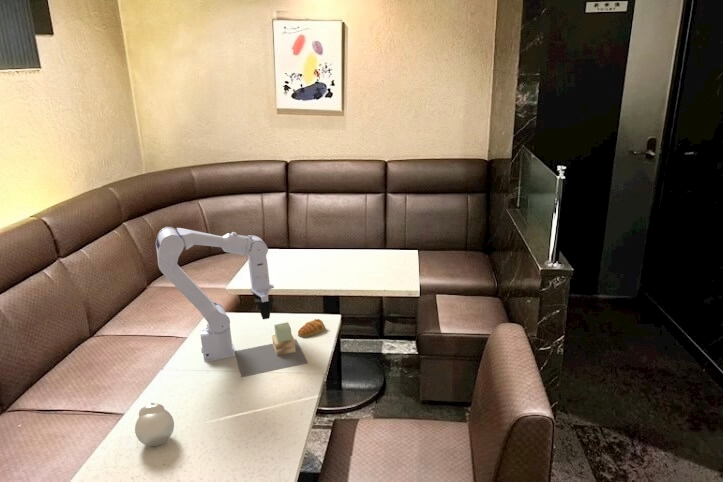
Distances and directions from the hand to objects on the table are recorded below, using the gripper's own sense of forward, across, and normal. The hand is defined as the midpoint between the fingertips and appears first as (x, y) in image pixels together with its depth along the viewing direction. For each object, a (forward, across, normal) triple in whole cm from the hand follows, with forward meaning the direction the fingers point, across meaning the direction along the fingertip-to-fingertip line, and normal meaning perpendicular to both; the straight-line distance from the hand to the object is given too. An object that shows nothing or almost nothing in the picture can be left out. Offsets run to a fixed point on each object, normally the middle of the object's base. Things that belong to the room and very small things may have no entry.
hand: (264, 313), depth 173 cm
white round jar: (+10, -39, +34) cm, 52 cm away
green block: (+6, -8, -4) cm, 11 cm away
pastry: (+11, +1, -15) cm, 19 cm away
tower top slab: (+8, -8, -4) cm, 12 cm away
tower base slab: (+10, -8, -4) cm, 13 cm away
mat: (+10, -10, +1) cm, 15 cm away
